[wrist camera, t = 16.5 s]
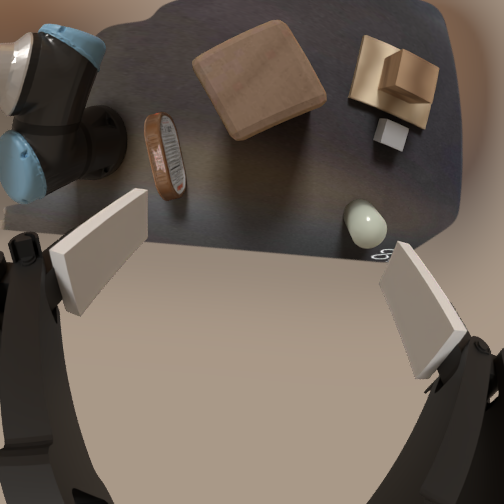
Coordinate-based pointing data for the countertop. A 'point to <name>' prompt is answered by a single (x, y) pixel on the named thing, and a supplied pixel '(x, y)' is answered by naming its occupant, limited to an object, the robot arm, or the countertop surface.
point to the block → (259, 79)
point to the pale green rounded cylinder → (364, 223)
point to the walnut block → (408, 78)
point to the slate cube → (391, 134)
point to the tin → (165, 155)
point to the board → (368, 82)
